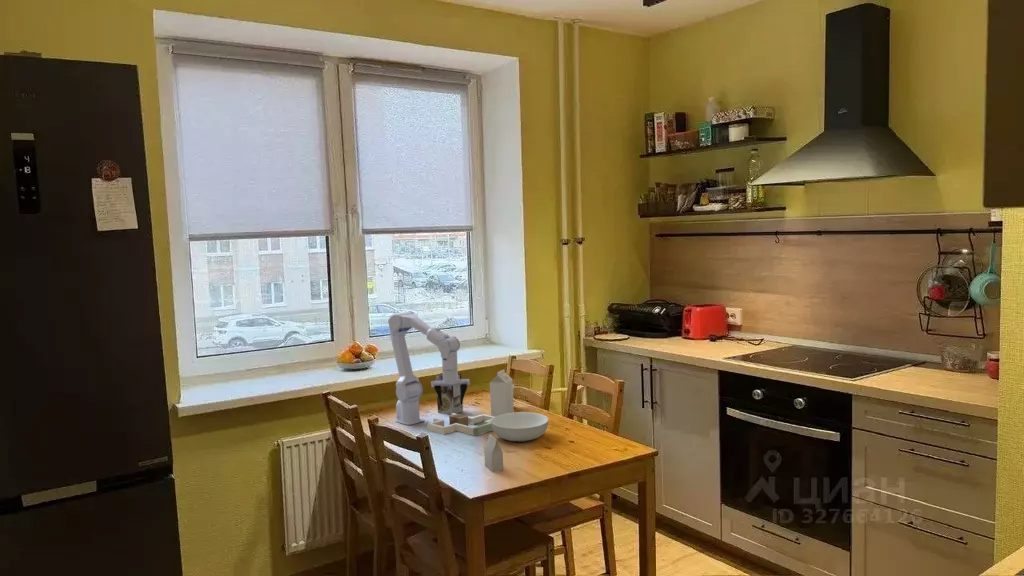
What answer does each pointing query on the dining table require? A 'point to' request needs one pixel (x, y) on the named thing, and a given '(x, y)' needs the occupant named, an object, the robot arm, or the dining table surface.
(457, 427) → the trap channel
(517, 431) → the serving bowl
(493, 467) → the gray house block
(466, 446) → the dining table surface
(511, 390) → the milk carton
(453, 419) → the walnut block
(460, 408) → the coffee box
